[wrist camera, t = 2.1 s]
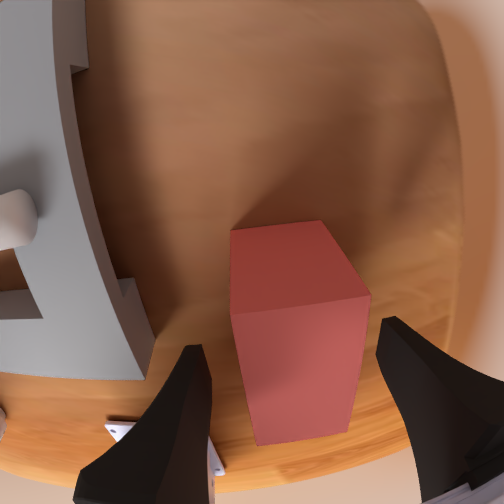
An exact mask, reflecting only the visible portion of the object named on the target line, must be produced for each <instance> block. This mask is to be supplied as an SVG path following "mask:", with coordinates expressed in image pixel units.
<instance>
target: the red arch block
mask: <svg viewBox="0 0 504 504" xmlns="http://www.w3.org/2000/svg"><path fill="white" fill-rule="evenodd" d="M370 302H371V294H370V292H369V290H368V289H367V287H366V286H365V284H364V283H363V281H362V280H361V278H360V277H359V275H358V274H357V272H356V271H355V269H354V268H353V266H352V265H351V263H350V262H349V260H348V259H347V257H346V256H345V254H344V253H343V251H342V250H341V248H340V247H339V245H338V244H337V243H336V241H335V240H334V238H333V237H332V235H331V234H330V232H329V231H328V230H327V228H326V227H325V225H324V224H323V223H322V221H321V220H314V221H305V222H296V223H288V224H279V225H270V226H262V227H254V228H245V229H237V230H231V236H230V318H231V323H232V329H233V334H234V339H235V344H236V349H237V354H238V359H239V364H240V369H241V374H242V379H243V384H244V389H245V394H246V399H247V403H248V408H249V413H250V417H251V422H252V427H253V431H254V436H255V440H256V445H257V446H262V445H271V444H279V443H287V442H294V441H300V440H307V439H312V438H318V437H323V436H329V435H334V434H338V433H343V432H347V430H348V426H349V422H350V418H351V413H352V409H353V404H354V400H355V395H356V390H357V385H358V380H359V375H360V369H361V364H362V358H363V352H364V346H365V339H366V333H367V326H368V318H369V311H370Z"/></svg>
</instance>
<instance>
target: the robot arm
mask: <svg viewBox="0 0 504 504" xmlns="http://www.w3.org/2000/svg"><path fill="white" fill-rule="evenodd" d="M376 357H377V360H378V364H379V367H380V370H381V372H382V375H383V377H384V380H385V382H386V384H387V386H388V388H389V390H390V392H391V394H392V396H393V398H394V400H395V403H396V405H397V407H398V409H399V411H400V413H401V415H402V418H403V420H404V423H405V426H406V429H407V432H408V436H409V439H410V442H411V446H412V449H413V454H414V458H415V462H416V467H417V472H418V477H419V484H420V490H421V498H422V503H421V504H504V382H503V381H500V380H497V379H495V378H492V377H490V376H487V375H485V374H483V373H480V372H478V371H476V370H474V369H472V368H470V367H468V366H466V365H465V364H463V363H461V362H459V361H457V360H456V359H454V358H452V357H450V356H449V355H448V354H446V353H445V352H443V351H442V350H440V349H439V348H437V347H436V346H434V345H433V344H432V343H430V342H429V341H428V340H426V339H425V338H424V337H422V336H421V335H420V334H418V333H417V332H416V331H414V330H413V329H412V328H411V327H409V326H408V325H407V324H405V323H404V322H403V321H402V320H400V319H399V318H397V317H396V316H393V317H388V318H383V319H382V323H381V328H380V334H379V339H378V345H377V350H376ZM211 407H212V378H211V375H210V372H209V368H208V365H207V361H206V358H205V355H204V351H203V348H202V344H199V345H186V346H185V348H184V349H183V351H182V353H181V355H180V357H179V359H178V361H177V363H176V365H175V367H174V369H173V370H172V372H171V374H170V376H169V377H168V379H167V381H166V382H165V384H164V386H163V387H162V389H161V390H160V392H159V393H158V395H157V396H156V398H155V399H154V401H153V402H152V404H151V405H150V406H149V408H148V409H147V410H146V412H145V413H144V414H143V415H142V416H141V418H140V419H139V420H138V421H137V422H121V421H106V423H105V427H106V428H107V430H108V431H109V432H110V434H111V435H112V436H113V437H114V438H115V440H116V441H117V443H116V444H115V445H113V446H112V447H111V448H110V449H109V450H108V451H107V452H105V453H104V454H103V455H102V456H100V457H99V458H98V459H96V460H95V461H93V462H92V463H90V464H89V465H88V466H86V467H85V468H83V469H81V471H80V473H79V476H78V479H77V483H76V487H75V491H74V496H73V501H74V503H75V504H215V476H221V475H224V474H225V469H224V467H223V465H222V463H221V461H220V459H219V457H218V454H217V452H216V450H215V448H214V446H213V443H212V441H211V439H210V437H209V428H210V418H211Z"/></svg>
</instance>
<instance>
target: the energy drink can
mask: <svg viewBox="0 0 504 504" xmlns="http://www.w3.org/2000/svg"><path fill="white" fill-rule="evenodd" d="M5 418H6V416H5V413H4V412H3V410H2V409H1V407H0V441H1V439H2V437H3V434H4V432H5V430H6V428H7V425H6V422H5Z"/></svg>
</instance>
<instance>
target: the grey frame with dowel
mask: <svg viewBox="0 0 504 504" xmlns="http://www.w3.org/2000/svg"><path fill="white" fill-rule="evenodd" d="M87 68H89V61H88V49H87V36H86V17H85V0H3V1H2V2H0V251H1V250H5V249H10V248H13V249H14V252H15V254H16V257H17V259H18V262H19V265H20V267H21V270H22V272H23V274H24V277H25V279H26V282H27V284H28V286H29V289H21V290H11V291H0V371H1V372H8V373H16V374H25V375H34V376H45V377H58V378H73V379H96V380H145V378H146V374H147V370H148V366H149V362H150V359H151V355H152V351H153V347H154V343H155V337H154V335H153V332H152V329H151V326H150V324H149V321H148V318H147V315H146V313H145V310H144V307H143V304H142V301H141V298H140V295H139V292H138V289H137V286H136V283H135V280H134V278H125V279H117V278H116V275H115V272H114V269H113V266H112V263H111V260H110V257H109V254H108V250H107V247H106V244H105V241H104V237H103V234H102V230H101V227H100V223H99V220H98V216H97V212H96V208H95V205H94V201H93V197H92V193H91V188H90V184H89V180H88V175H87V171H86V166H85V162H84V157H83V152H82V147H81V141H80V136H79V130H78V124H77V118H76V111H75V105H74V97H73V89H72V81H71V74H74V73H76V72H79V71H82V70H85V69H87Z"/></svg>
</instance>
